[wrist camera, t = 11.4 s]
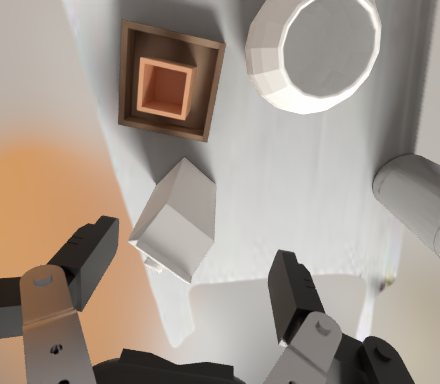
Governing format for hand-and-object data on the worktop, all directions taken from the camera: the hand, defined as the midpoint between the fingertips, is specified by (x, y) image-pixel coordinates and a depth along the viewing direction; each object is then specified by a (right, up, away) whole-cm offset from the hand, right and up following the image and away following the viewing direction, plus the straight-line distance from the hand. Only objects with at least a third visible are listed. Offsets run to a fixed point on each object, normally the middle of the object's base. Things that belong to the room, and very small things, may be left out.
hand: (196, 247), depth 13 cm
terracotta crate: (-5, +17, +23) cm, 29 cm away
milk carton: (-4, +4, +31) cm, 31 cm away
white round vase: (+11, +21, +22) cm, 32 cm away
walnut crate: (-5, +18, +23) cm, 30 cm away
